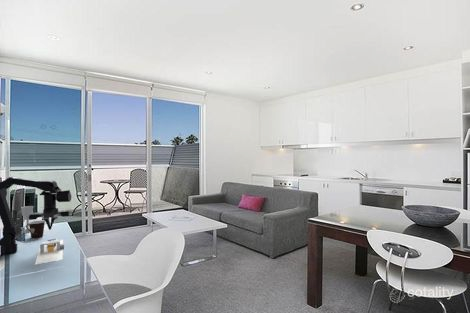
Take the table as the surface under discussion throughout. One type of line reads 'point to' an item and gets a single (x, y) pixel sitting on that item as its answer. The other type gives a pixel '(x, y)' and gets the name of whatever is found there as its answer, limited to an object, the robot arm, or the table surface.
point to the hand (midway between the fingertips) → (50, 229)
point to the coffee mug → (36, 228)
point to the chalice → (27, 215)
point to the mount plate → (49, 255)
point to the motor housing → (59, 246)
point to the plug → (51, 246)
